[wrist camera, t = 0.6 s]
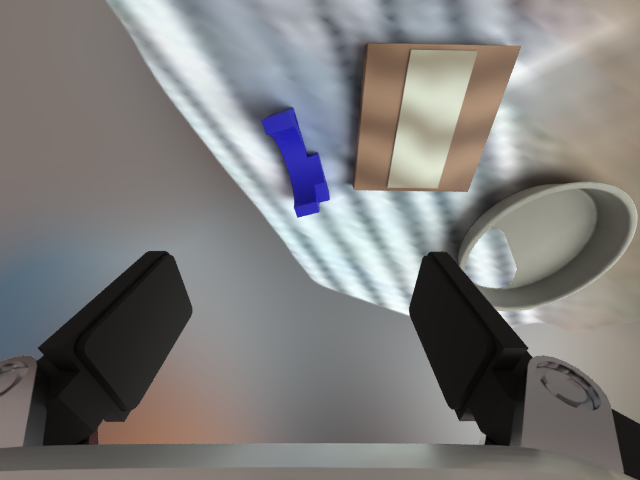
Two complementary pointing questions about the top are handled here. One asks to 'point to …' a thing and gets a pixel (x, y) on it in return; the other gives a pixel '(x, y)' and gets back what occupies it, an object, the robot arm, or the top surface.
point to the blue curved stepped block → (298, 162)
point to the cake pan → (556, 240)
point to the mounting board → (427, 114)
